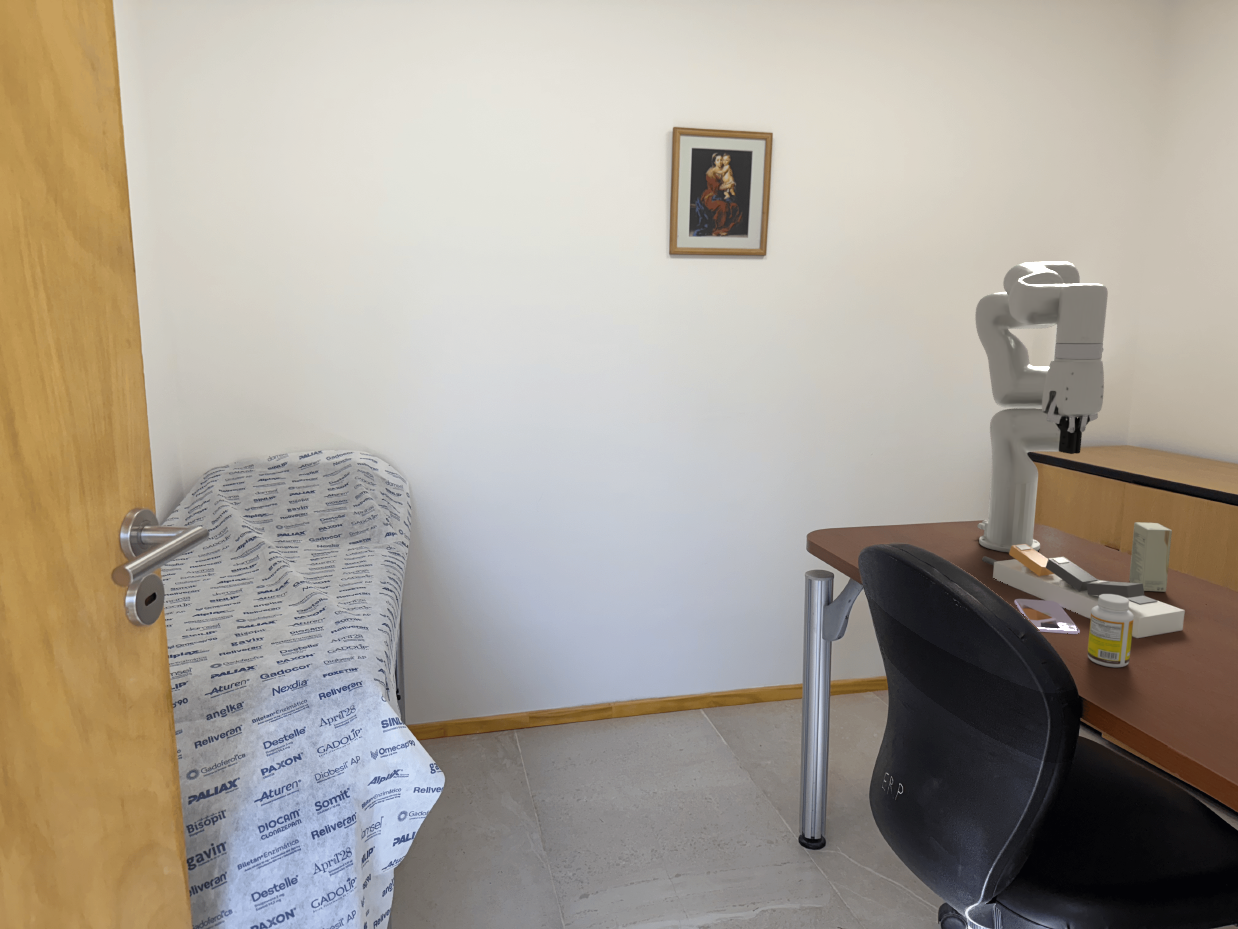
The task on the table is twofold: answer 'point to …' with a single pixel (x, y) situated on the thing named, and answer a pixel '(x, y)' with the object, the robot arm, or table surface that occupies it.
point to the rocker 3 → (1115, 588)
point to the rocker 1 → (1030, 559)
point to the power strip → (1088, 598)
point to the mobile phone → (1047, 616)
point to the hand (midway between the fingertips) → (1069, 452)
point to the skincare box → (1150, 556)
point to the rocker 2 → (1070, 573)
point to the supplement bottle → (1110, 631)
